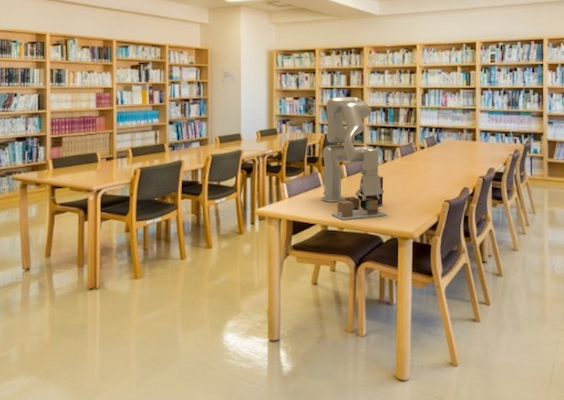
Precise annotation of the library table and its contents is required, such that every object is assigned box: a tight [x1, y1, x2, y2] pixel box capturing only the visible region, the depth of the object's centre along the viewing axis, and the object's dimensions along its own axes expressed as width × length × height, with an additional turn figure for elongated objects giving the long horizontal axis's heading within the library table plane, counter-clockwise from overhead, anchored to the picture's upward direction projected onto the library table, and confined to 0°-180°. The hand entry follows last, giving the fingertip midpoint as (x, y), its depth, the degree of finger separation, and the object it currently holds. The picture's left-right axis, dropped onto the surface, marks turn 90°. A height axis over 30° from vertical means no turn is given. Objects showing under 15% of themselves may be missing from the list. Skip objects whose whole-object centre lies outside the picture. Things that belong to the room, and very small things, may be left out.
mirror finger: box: [344, 196, 360, 210], centre depth 306 cm, size 6×6×7 cm
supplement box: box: [365, 176, 384, 207], centre depth 320 cm, size 9×5×16 cm, turn 59°
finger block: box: [364, 198, 379, 215], centre depth 297 cm, size 6×6×7 cm
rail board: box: [331, 200, 388, 221], centre depth 295 cm, size 12×25×8 cm, turn 113°
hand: (369, 207), depth 297 cm, fingers open, 7 cm apart
